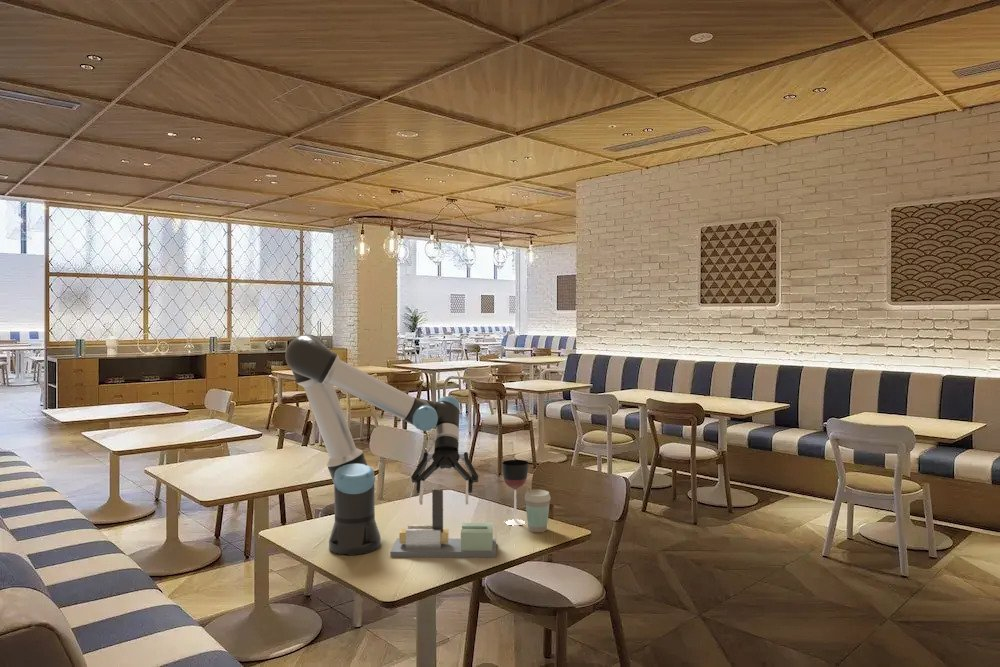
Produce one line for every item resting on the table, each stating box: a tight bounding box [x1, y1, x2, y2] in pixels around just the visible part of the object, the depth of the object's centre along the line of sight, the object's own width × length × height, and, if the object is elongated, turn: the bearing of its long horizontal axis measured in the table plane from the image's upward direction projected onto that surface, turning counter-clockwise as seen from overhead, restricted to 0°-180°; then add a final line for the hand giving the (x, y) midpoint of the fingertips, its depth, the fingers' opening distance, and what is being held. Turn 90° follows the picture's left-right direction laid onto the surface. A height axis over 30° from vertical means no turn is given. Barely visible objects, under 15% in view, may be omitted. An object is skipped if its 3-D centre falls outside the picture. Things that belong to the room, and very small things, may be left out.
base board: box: [389, 537, 497, 558], centre depth 195 cm, size 30×11×2 cm, turn 90°
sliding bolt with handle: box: [399, 489, 450, 544], centre depth 195 cm, size 14×3×15 cm, turn 90°
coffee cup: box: [523, 489, 552, 533], centre depth 213 cm, size 9×8×12 cm
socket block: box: [460, 522, 494, 551], centre depth 195 cm, size 9×9×5 cm
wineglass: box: [501, 459, 529, 527], centre depth 220 cm, size 8×9×20 cm
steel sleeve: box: [405, 524, 442, 548], centre depth 195 cm, size 10×5×5 cm, turn 90°
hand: (443, 502), depth 197 cm, fingers open, 13 cm apart
